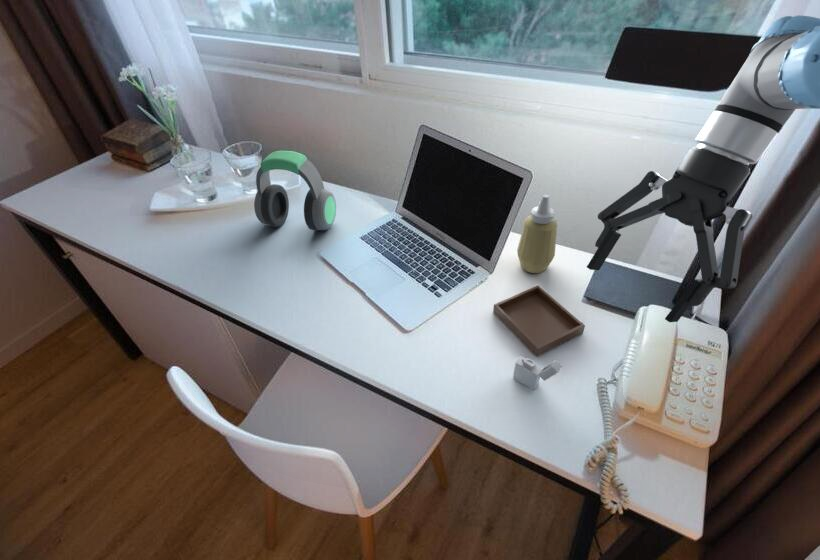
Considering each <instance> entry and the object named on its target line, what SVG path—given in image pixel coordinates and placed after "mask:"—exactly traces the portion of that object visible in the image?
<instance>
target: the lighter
mask: <svg viewBox="0 0 820 560" xmlns="http://www.w3.org/2000/svg"><path fill="white" fill-rule="evenodd" d="M562 368H563V365H562V364H561V363H560V362H559V361H558V360H557V359H556V360H553V361H552V362H550V363H549V364H546V365H545V366H544V367H541V366H539V365H538V364H537V362H536V361H534V360H533V359H531V358H529V357H523V356H519V357H518V358H517V360H516V361H515V364H514V370H513V374H512V378H513V380H515V381H517V382H519V383H521V384H522V385H524V386H525V387H528V388H529V389H530V390H533V391H534V390H536V388H537V387H538V386H539V384H540V380H541V379H542V380H543V381H546V380H548V379H550V378H551V377H553V376H556V374H558V373H559V371H560V370H561V369H562Z"/></svg>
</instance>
